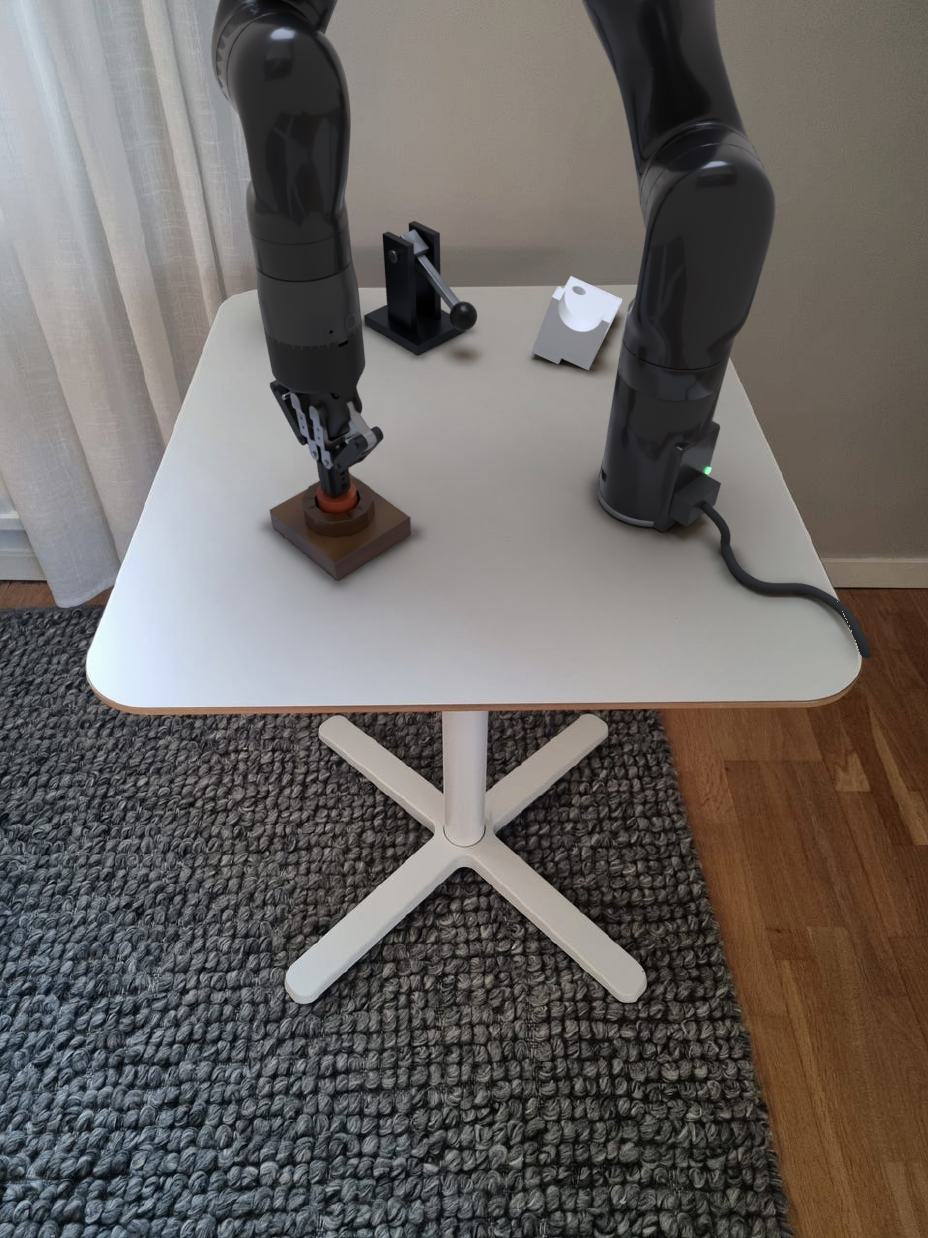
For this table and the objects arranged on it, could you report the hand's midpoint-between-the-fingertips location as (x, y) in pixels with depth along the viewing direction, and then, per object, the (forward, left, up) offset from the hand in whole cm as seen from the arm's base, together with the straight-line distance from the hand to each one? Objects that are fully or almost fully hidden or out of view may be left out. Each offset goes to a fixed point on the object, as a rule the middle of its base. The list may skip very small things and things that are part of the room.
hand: (336, 491), depth 80 cm
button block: (0, 0, -5) cm, 5 cm away
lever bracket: (+23, -30, -5) cm, 38 cm away
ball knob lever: (+20, -30, +1) cm, 36 cm away
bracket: (+7, -43, -5) cm, 44 cm away
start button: (0, 0, -2) cm, 2 cm away
